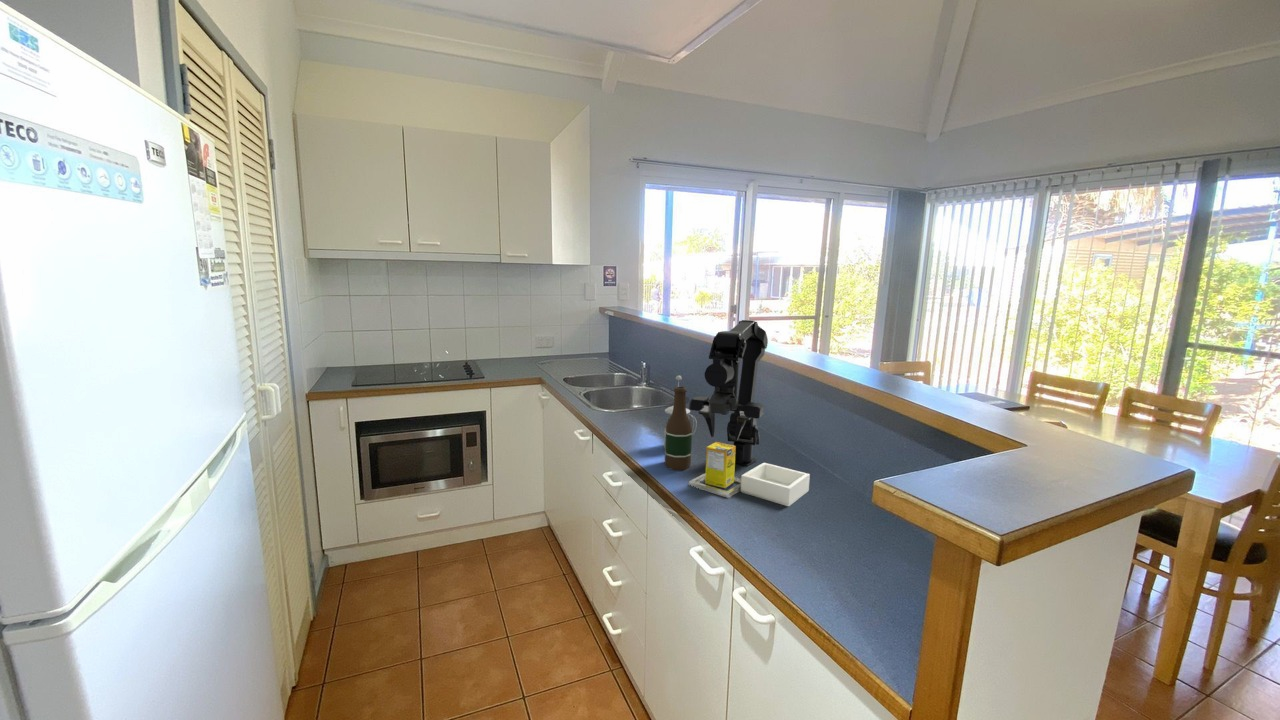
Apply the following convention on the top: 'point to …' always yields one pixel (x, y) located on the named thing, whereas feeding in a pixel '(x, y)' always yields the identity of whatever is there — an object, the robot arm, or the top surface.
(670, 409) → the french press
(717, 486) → the supplement box
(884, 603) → the top surface
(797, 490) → the bin
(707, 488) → the collar
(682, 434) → the beer bottle
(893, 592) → the top surface
